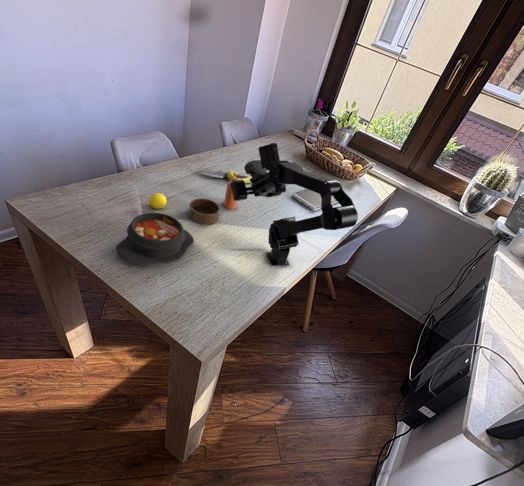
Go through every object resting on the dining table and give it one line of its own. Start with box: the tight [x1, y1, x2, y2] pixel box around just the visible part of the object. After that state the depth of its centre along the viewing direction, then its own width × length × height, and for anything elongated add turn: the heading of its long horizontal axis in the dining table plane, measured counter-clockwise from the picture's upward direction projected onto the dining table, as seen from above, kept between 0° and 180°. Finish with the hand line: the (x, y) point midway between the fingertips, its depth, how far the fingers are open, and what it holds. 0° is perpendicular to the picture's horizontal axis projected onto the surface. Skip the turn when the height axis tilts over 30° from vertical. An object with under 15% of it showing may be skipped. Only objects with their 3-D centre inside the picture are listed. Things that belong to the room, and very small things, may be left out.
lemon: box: [148, 192, 167, 210], centre depth 128 cm, size 7×5×5 cm
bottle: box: [223, 178, 238, 210], centre depth 137 cm, size 5×5×12 cm
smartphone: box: [291, 188, 338, 212], centre depth 164 cm, size 13×27×2 cm, turn 135°
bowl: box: [187, 197, 221, 226], centre depth 130 cm, size 11×11×4 cm
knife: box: [196, 167, 252, 184], centre depth 156 cm, size 8×3×25 cm
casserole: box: [115, 212, 195, 267], centre depth 111 cm, size 25×19×8 cm
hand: (244, 195), depth 130 cm, fingers open, 9 cm apart
